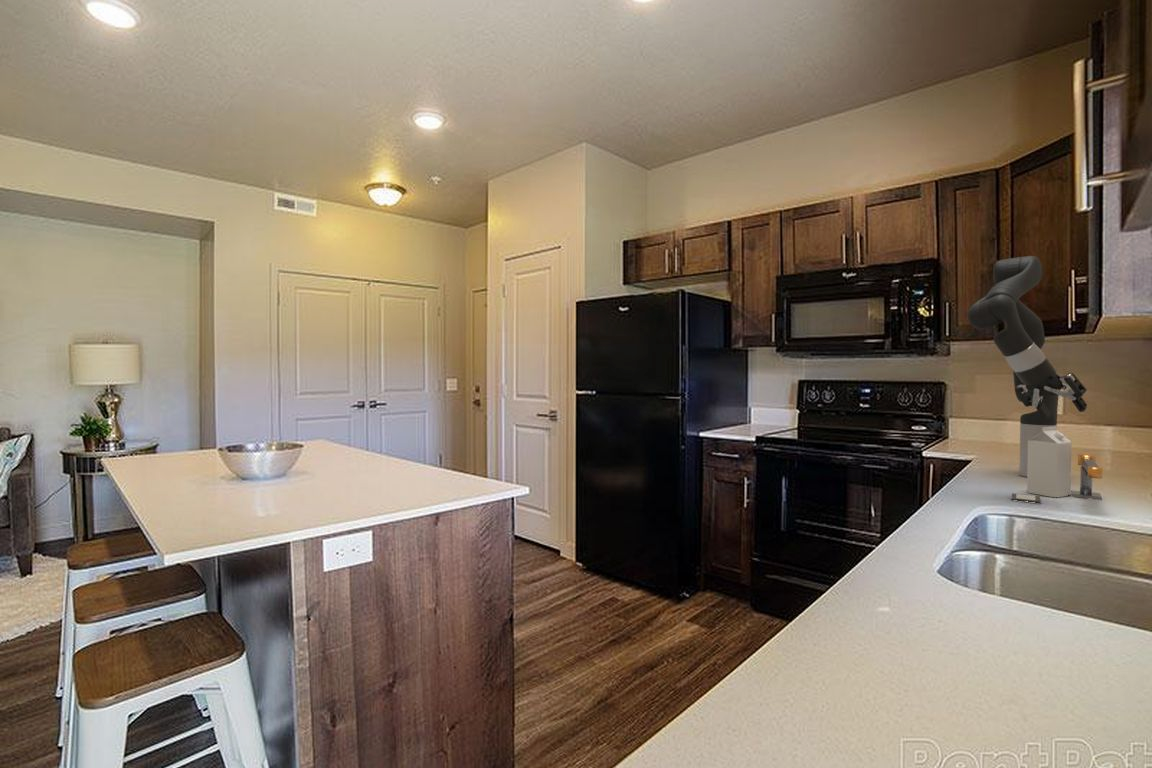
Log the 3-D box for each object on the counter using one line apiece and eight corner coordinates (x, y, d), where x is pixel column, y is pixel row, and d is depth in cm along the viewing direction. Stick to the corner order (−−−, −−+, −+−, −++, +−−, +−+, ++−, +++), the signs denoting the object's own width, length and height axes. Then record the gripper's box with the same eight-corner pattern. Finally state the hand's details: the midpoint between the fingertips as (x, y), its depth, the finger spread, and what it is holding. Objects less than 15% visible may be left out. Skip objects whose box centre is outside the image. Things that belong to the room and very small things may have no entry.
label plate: (1011, 495, 157) (1011, 492, 157) (1039, 498, 153) (1039, 495, 153) (1011, 500, 150) (1011, 498, 150) (1040, 504, 147) (1040, 501, 147)
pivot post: (1070, 493, 160) (1071, 464, 159) (1099, 496, 156) (1100, 466, 156) (1072, 496, 155) (1072, 467, 155) (1101, 499, 151) (1102, 469, 151)
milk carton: (1026, 493, 160) (1028, 426, 159) (1040, 490, 163) (1042, 425, 162) (1056, 498, 153) (1058, 428, 153) (1070, 495, 156) (1072, 427, 156)
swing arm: (1077, 463, 158) (1077, 453, 158) (1094, 465, 155) (1095, 455, 155) (1085, 478, 137) (1085, 466, 137) (1105, 479, 135) (1105, 468, 135)
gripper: (1064, 348, 144) (1102, 400, 143) (1009, 362, 157) (1044, 410, 156) (1050, 363, 141) (1089, 416, 140) (995, 376, 154) (1030, 425, 154)
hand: (1065, 413), depth 148 cm, fingers open, 8 cm apart
